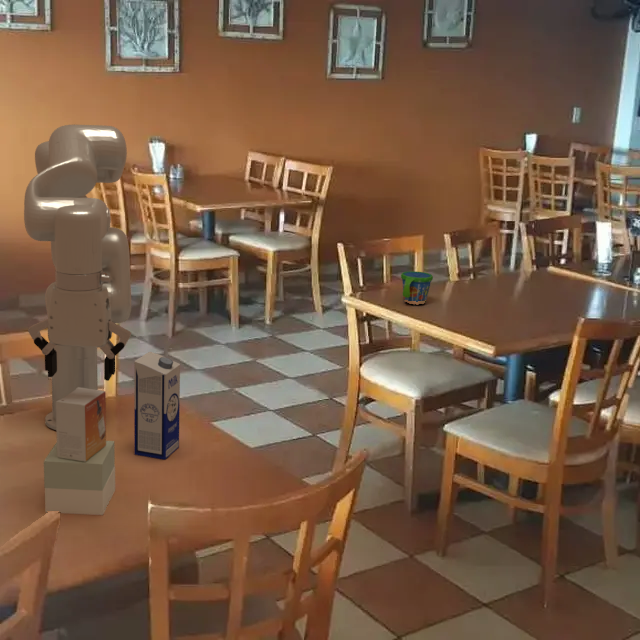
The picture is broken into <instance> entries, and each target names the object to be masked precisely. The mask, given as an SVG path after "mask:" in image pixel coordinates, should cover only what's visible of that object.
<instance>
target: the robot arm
mask: <svg viewBox="0 0 640 640" xmlns="http://www.w3.org/2000/svg"><path fill="white" fill-rule="evenodd" d="M127 154H128V151H127V141H126V140H125V136H124V134H123V133H122V131H121V130H120V129H118V128H117V127H115V126H112V125H102V124H100V125H99V124H96V125H95V124H64V125H60V126H59V127H57V128H56V129H54V130H53V131H52V133H51V134H50V136H49V139H48V140H47V141H44V142H41V143H39V144H38V145H37V146H36V149H35V152H34V162H35V168H36V173H37V174H36V175H35V176H34V177H33V178H32V179H31V180H30V181H29V183H28V185H27V187H26V189H25V193H24V199H23V201H24V202H23V203H24V204H23V205H24V207H23V222H24V227H25V230H26V233H27V235H28V236H29V238H31V239H33V240H34V241H38V242H50V253H51V261H52V264H53V266H54V268H55V281H54V282H51V284H49V285H48V287H47V288H46V289H45V294H44V302H45V309H46V310H45V311H46V313H47V318H46V319H44V320H42V321H39V322H37V323H34V324H32V325H30V326H28V328H27V332H28V334H29V335H30V337H31V339H32V340H33V344H35V346H36V347H37V348H38V349H39V350H41V354H42V355H44V370H45V371H46V372H47V377H48V378H51V401H52V403H51V406H52V409H51V410H52V411H50V412H49V413H47V414H46V416H45V417H44V424H45V426H46V427H48V428H49V429H52V430H55V431H56V401H58V400H60V399H61V398H63V397H65V396H66V395H68V394H69V393H71V392H72V391H74V390H75V389H76V388H78V387H80V388H87V389H94V390H99V389H98V387H99V386H98V384H99V382H98V381H99V380H98V348H99V349H100V350H101V351H102V352H103V354H104V355H105V357H104V359H103V371H104V372H103V373H104V374H103V377H104V378H103V379H104V381H110V379H111V378H112V376H113V375H115V374H116V356H118V354H119V353H120V352H122V350H123V349H124V348H125V347H126V346H127V343H128V342H129V339H130V338H131V336H132V332H131V331H130V330H128V329H126V328H124V327H123V326H120V324H121V323H125V322H126V321H128V320H129V318H130V316H131V311H132V289H131V288H132V286H131V285H132V284H131V283H132V282H131V260H130V258H131V257H130V247H129V241H128V238H127V237H128V236H127V235H126V233H125V232H124V231H123V230H122V229H120V228H119V227H111V223H112V222H111V221H112V218H111V210H110V208H109V207H108V206H107V204H106V203H105V202H104V201H103V199H99V198H96V197H88V196H87V195H88V194H89V193H90V192H91V191H92V190H94V188H95V186H96V185H97V183H99V184H101V183H103V184H105V183H106V184H109V183H110V184H111V183H116V182H119V180H121V177H122V176H123V173H124V169H125V166H126V164H127V163H126V162H127V157H128V155H127ZM118 324H119V325H118ZM45 329H47V338H48V341H49V342H48V341H47V340H46V338H45V337H44V336H42V335H41V331H43V330H45ZM113 334H115V335H117V336H118V337H119V341H118V342H117V343H116V344H114V343H113V342H112V341H111V340H112V337H113Z"/></svg>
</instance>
